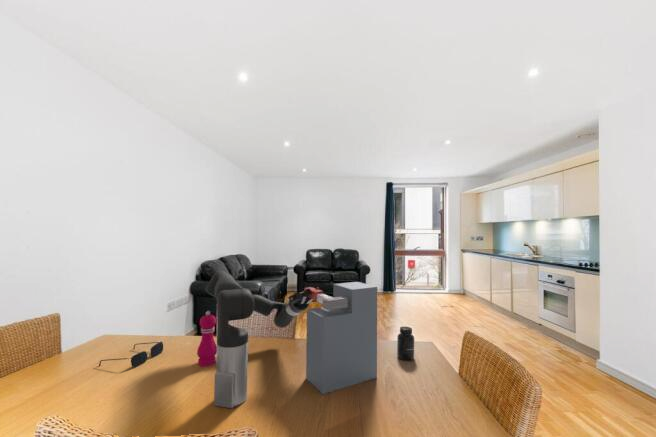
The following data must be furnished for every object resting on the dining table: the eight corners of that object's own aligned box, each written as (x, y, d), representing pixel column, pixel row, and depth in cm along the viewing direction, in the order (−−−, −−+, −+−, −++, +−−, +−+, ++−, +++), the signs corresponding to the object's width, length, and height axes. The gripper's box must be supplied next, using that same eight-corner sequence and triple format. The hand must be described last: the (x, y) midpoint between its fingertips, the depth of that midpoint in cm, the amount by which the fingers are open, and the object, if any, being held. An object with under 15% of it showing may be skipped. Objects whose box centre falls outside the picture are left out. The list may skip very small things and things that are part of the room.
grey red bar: (298, 296, 118) (298, 288, 118) (316, 294, 122) (317, 286, 122) (327, 310, 99) (327, 300, 99) (347, 307, 103) (347, 297, 103)
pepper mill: (220, 359, 122) (221, 308, 123) (211, 367, 115) (212, 313, 115) (202, 358, 123) (204, 308, 123) (193, 366, 115) (194, 313, 116)
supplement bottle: (410, 362, 121) (410, 332, 121) (394, 358, 125) (394, 328, 125) (416, 357, 126) (416, 327, 127) (401, 352, 130) (401, 324, 131)
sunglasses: (132, 370, 112) (131, 356, 113) (98, 372, 115) (97, 359, 115) (164, 352, 129) (163, 340, 130) (134, 354, 132) (133, 342, 132)
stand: (306, 378, 107) (307, 286, 108) (356, 364, 119) (357, 281, 120) (323, 394, 97) (324, 292, 98) (376, 377, 108) (377, 286, 109)
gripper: (279, 297, 126) (295, 282, 113) (309, 293, 133) (327, 279, 121) (282, 315, 123) (299, 302, 110) (313, 311, 130) (332, 297, 117)
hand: (314, 290), depth 115 cm, fingers closed on grey red bar, 3 cm apart
